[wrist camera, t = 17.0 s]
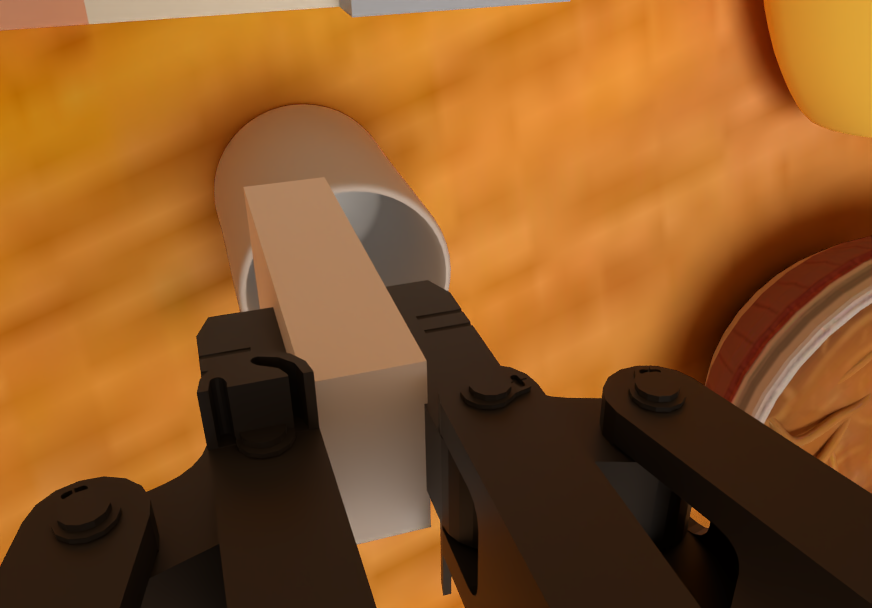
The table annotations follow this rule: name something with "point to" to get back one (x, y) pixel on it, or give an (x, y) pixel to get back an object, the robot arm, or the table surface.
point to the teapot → (826, 59)
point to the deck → (206, 9)
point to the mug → (349, 181)
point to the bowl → (808, 357)
